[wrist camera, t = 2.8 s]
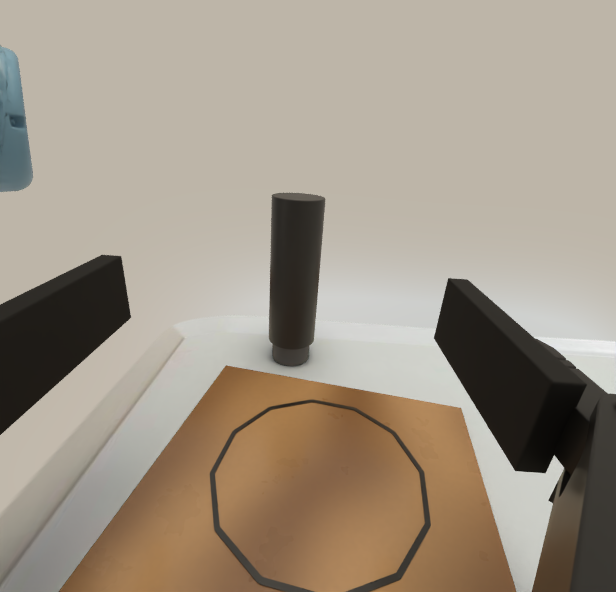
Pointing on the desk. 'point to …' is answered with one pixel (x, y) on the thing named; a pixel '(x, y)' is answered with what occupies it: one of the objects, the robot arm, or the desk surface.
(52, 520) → the desk surface
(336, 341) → the desk surface
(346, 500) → the paper sheet
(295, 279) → the dot marker
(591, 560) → the robot arm
